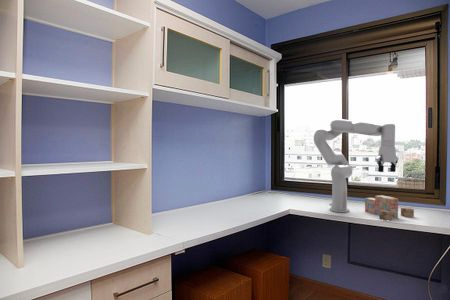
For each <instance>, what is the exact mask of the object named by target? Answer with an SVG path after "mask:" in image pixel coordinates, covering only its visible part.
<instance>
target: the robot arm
mask: <svg viewBox="0 0 450 300" xmlns="http://www.w3.org/2000/svg"><path fill="white" fill-rule="evenodd" d="M329 124H330V125H329V127H330V128H318V129H317V130H316V131H315V132H314V134H313V142H314V145H315V147H316V148H317V150H318V151H319V153H320V155H321V157H322V158H323V160H324V161H325V163H326V164H327V165H329V166H333V167H331V168H332V169H331V170H330V176H331V185H332V186H331V188H332V189H331V191H332V192H331V195H332V197H331V198H332V199H331V200H332V202H331V203H329V205H328V206H330V208H329V210H330V212H336V213H348V212H350V209H349V208H348V183H347V178H350V177H352V175H353V169H352V166H351V164H350V163H349V162H348V160H347V159H346V157H345V155H344V154H343V153H342V152H338V151H335V150H334V149H333V147H332V146H331V145H330V144H329V142H328V141H333V140H334V139H336V138H337V137H339V136H341V135H342V134H343V133H346V134H347V133H348V134H353V135H354V134H358V135H363V136H364V135H365V136H373V137H380V146H379V148H378V154H377V155H378V156H377V157H375V161H376V163H377V165H378V171H377V172H378V173H384V164H385V163H390V173H391V172H392V173H396V169H397V168H396V167H397V164H398V162H399V157H398V156H397V152H396V145H395V144H396V125H395V123H394V124H393V123H384V124H380V123H379V124H378V123H370V122H362V121H357V120H351V119H350V120H349V119H341V118H336V119H332V120H331V122H330V123H329Z"/></svg>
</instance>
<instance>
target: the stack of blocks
mask: <svg viewBox="0 0 450 300" xmlns="http://www.w3.org/2000/svg"><path fill="white" fill-rule="evenodd" d="M383 210H386V211H392V219H397V218H399V198H396V197H393V196H388V195H387V196H386V195H375V196H374V197H364V211H365V212H366V213H369V212H370V214H373V215H376V214H377V216H380V211H383Z"/></svg>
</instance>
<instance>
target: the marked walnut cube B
mask: <svg viewBox="0 0 450 300" xmlns="http://www.w3.org/2000/svg"><path fill="white" fill-rule="evenodd" d="M414 211H415V209H414V208H410V207H400V216H402V217H405V218H414V217H415V212H414Z"/></svg>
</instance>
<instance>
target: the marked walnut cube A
mask: <svg viewBox="0 0 450 300" xmlns="http://www.w3.org/2000/svg"><path fill="white" fill-rule="evenodd" d="M381 219H383V220H382V221H386V220H389V221H392V220H393V218H392V211H386V210H383V211H380V215H379V220H381Z"/></svg>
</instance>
